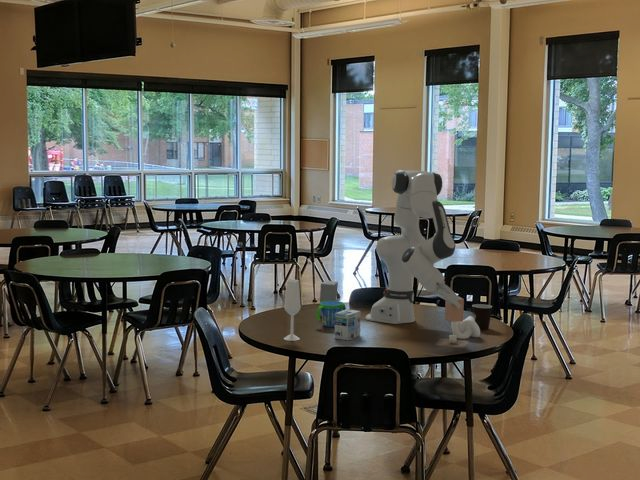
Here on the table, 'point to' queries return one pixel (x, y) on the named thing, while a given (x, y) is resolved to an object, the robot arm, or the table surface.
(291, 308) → the champagne flute
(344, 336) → the light bulb box
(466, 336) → the white lumpy piece
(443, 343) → the board
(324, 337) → the table surface
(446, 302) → the pink juice box
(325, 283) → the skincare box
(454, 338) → the small white block
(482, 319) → the coffee mug
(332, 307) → the snack cup
